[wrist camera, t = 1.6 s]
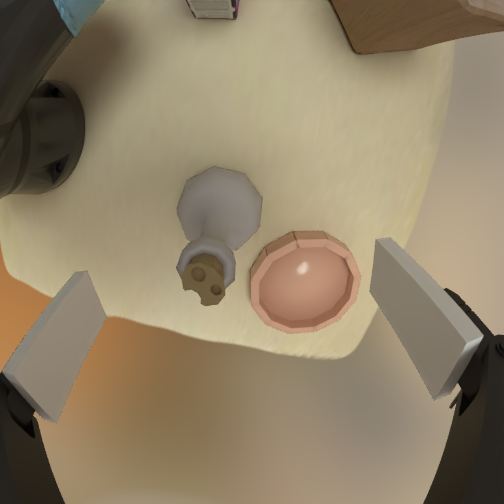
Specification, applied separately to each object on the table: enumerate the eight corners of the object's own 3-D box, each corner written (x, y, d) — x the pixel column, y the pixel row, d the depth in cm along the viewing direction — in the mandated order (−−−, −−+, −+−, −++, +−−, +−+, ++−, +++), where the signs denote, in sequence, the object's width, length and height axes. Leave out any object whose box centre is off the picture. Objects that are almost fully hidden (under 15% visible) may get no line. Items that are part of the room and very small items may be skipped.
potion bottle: (234, 248, 34) (229, 362, 18) (171, 210, 32) (108, 301, 15) (277, 190, 31) (315, 268, 15) (210, 147, 29) (169, 177, 12)
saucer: (251, 323, 39) (251, 335, 37) (249, 232, 33) (250, 240, 31) (344, 318, 40) (349, 328, 37) (360, 230, 33) (368, 238, 31)
